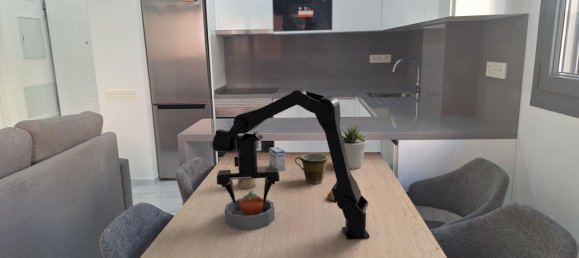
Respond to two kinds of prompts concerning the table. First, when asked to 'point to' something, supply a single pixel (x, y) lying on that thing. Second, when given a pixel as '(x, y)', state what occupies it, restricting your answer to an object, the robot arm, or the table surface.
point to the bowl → (243, 222)
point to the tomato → (251, 204)
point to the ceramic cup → (313, 167)
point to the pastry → (331, 195)
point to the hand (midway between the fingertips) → (249, 202)
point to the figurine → (247, 183)
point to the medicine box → (277, 158)
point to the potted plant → (354, 147)
